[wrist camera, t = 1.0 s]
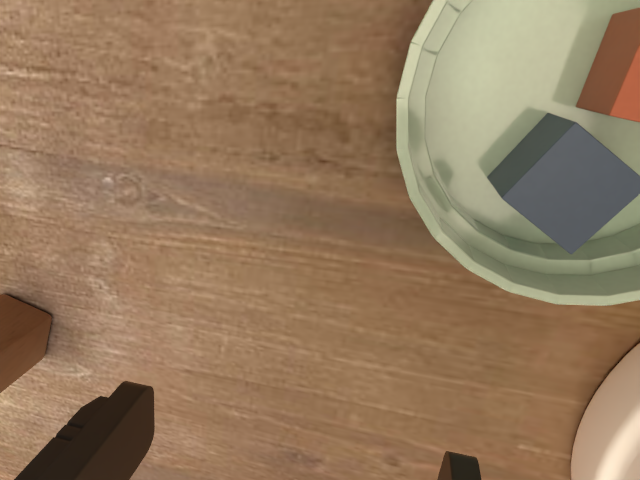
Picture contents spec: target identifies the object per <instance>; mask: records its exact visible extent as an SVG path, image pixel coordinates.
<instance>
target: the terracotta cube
mask: <svg viewBox="0 0 640 480" xmlns="http://www.w3.org/2000/svg"><path fill="white" fill-rule="evenodd" d="M576 107H577V108H581V109H585V110H589V111H593V112H597V113H601V114H605V115H609V116H613V117H617V118H622V119H626V120H631V121H635V122H640V7H639V8H635V9H631V10H627V11H623V12H619V13H615V14H613V15H612V16H611V19H610V21H609V24H608V27H607V29H606V32H605V34H604V37H603V39H602V42H601V44H600V47H599V49H598V52H597V54H596V57H595V59H594V62H593V64H592V67H591V69H590V72H589V74H588V77H587V79H586V82H585V84H584V87H583V89H582V92H581V94H580V97H579V99H578V102H577V104H576Z"/></svg>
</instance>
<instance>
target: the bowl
mask: <svg viewBox="0 0 640 480" xmlns="http://www.w3.org/2000/svg"><path fill="white" fill-rule="evenodd" d="M639 7H640V0H433V1H432V3H431V4H430V6H429V8H428V10H427V12H426V14H425V16H424V18H423V19H422V21H421V23H420V25H419V27H418V29H417V31H416V33H415V34H414V36H413V38H412V40H411V43H410V46H409V50H408V53H407V57H406V61H405V65H404V69H403V73H402V77H401V81H400V85H399V88H398V92H397V98H396V150H397V155H398V159H399V162H400V166H401V170H402V173H403V177H404V181H405V184H406V188H407V192H408V195H409V197H410V200H411V202H412V203H413V205H414V207H415V208H416V210H417V212H418V213H419V215H420V217H421V218H422V220H423V222H424V223H425V225H426V227H427V228H428V230H429V232H430V233H431V235H432V236H433V237H434V239H435V240H436V241H437V242H438V243H439V244H440V245H442V246H443V247H444V248H445V249H446V250H447V251H448V252H449V253H450V254H451V255H452V256H453V257H454V258H455V259H456V260H457V261H458V262H459V263H461V264H462V265H463V266H464V267H465V268H466V269H468V270H469V271H471V272H473V273H474V274H476V275H478V276H480V277H482V278H484V279H486V280H487V281H489V282H491V283H493V284H495V285H497V286H498V287H500V288H502V289H504V290H506V291H509V292H511V293H515V294H519V295H523V296H526V297H530V298H534V299H538V300H542V301H546V302H550V303H553V304H564V305H599V306H608V305H615V304H621V303H626V302H632V301H637V300H640V194H639V195H638V196H637V197H636V198H635V199H634V200H632V201H631V202H630V203H629V204H628V205H627V206H626V207H625V208H623V209H622V210H621V211H620V212H619V213H618V214H617V215H616V216H614V217H613V218H612V219H611V220H610V221H609V222H608V223H607V224H605V225H604V226H603V227H602V228H601V229H600V230H599V231H598V232H596V233H595V234H594V235H593V236H592V237H591V238H590V239H589V240H588V241H586V242H585V243H584V244H583V245H582V246H581V247H580V248H579V249H577V250H576V251H575V252H574V253H573V254H569V253H568V252H567V251H566V250H565V249H563V248H562V247H561V246H560V245H558V244H557V243H556V242H555V241H553V240H552V239H551V238H550V237H549V236H547V235H546V234H545V233H544V232H542V231H541V230H540V229H539V228H537V227H536V226H535V225H534V224H533V223H531V222H530V221H529V220H528V219H526V218H525V217H524V216H523V215H521V214H520V213H519V212H518V211H517V210H515V209H514V208H513V207H512V206H510V205H509V204H508V203H507V202H505V201H504V200H503V199H502V198H501V197H500V195H499V194H498V192H497V191H496V190H495V188H494V187H493V185H492V184H491V183H490V181H489V180H488V178H487V176H488V175H489V174H490V173H491V172H492V171H493V170H494V169H495V168H496V167H497V166H498V165H499V164H500V163H501V162H502V161H503V160H504V158H505V157H506V156H507V155H508V154H509V153H510V152H511V151H512V150H513V149H514V148H515V147H516V146H517V145H518V144H519V143H520V142H521V140H522V139H523V138H524V137H525V136H526V135H527V134H528V133H529V132H530V131H531V130H532V129H533V128H534V127H535V126H536V125H537V124H538V122H539V121H540V120H541V119H542V118H543V117H544V116H545V115H546V114H547V113H551V114H554V115H557V116H559V117H562V118H565V119H568V120H571V121H574V122H577V123H578V124H579V125H580V126H582V127H583V128H584V129H585V130H586V131H588V132H589V133H590V134H591V135H592V136H593V137H595V138H596V139H597V140H598V141H599V142H601V143H602V144H603V145H604V146H605V147H606V148H608V149H609V150H610V151H611V152H612V153H614V154H615V155H616V156H617V157H618V158H619V159H621V160H622V161H623V162H624V163H625V164H627V165H628V166H629V167H630V168H631V169H633V170H634V171H635V172H636V173H637V174H638V175H640V122H635V121H631V120H626V119H622V118H617V117H613V116H609V115H605V114H601V113H597V112H593V111H589V110H585V109H581V108H577V107H576V104H577V102H578V99H579V97H580V94H581V92H582V89H583V87H584V84H585V82H586V79H587V77H588V74H589V72H590V69H591V67H592V64H593V62H594V59H595V57H596V54H597V52H598V49H599V47H600V44H601V42H602V39H603V37H604V34H605V32H606V29H607V27H608V24H609V21H610V19H611V16H612V15H613V14H615V13H619V12H623V11H627V10H631V9H635V8H639Z"/></svg>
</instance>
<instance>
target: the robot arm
mask: <svg viewBox="0 0 640 480" xmlns="http://www.w3.org/2000/svg"><path fill="white" fill-rule="evenodd" d="M153 436H154V391H153V388H152V387H151V386H147V385H142V384H137V383H133V382H128V381H125V382H123V383H121V384H120V385H119V387H118V388H117V389H116V390H115V391H114V392H113V393H112V395H111V396H110V397H109V398H107V397H102V396H100V397H98V398H96V399H95V400H93V401H91V402H90V403H88V404H86V405H85V406H83V407H81V408H80V410H79V411H78V412H77V413H76V414H75V415H74V416H73V417H72V418H71V419H70V420H69V421H68V424H67V425H65V426H64V427H63V428H62V429H61V430H60V431H59V432H58V433H57V435H56V437H55V438H54V437H53V439H52V440H51V441H50V442H49V443H48V444H47V445H46V446H45V447H44V448H43V449H42V450H41V451H40V452H39V454H38V455H37V456H36V457H35V458H34V459H33V460H32V461H31V462H30V463H29V464H28V465H27V466H26V468H25V469H24V470H23V471H22V472H21V473H20V474H19V475H18V476H17V477H16V478H15V479H14V480H129V479H130V478H131V476H132V475H133V473H134V472H135V470H136V469H137V467H138V466H139V464H140V463H141V461H142V460H143V458H144V457H145V455H146V453H147V452H148V450H149V448H150V445H151V443H152V440H153ZM437 480H481V475H480V470H479V464H478V460H477V458H476V457H472V456H467V455H463V454H458V453H453V452H449V451H446V453H445V455H444V458H443V462H442V465H441V469H440V472H439V476H438V479H437Z"/></svg>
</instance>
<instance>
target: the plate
mask: <svg viewBox="0 0 640 480" xmlns="http://www.w3.org/2000/svg"><path fill="white" fill-rule="evenodd" d="M571 480H640V343H639V344H638V345H637V346H635V347H634V348H633V349H632V350H631V351H630V352H629V353H628V354H627V355H626V356H625V357H624V358H623V359H622V360H621V361H620V362H619V363H618V364H617V365H616V367H615V368H614V369H613V370H612V371H611V372H610V373H609V375H608V376H607V377H606V379H605V380H604V381H603V383H602V384H601V386H600V387H599V388H598V390H597V391H596V393H595V394H594V396H593V398H592V400H591V401H590V403H589V405H588V407H587V408H586V410H585V413H584V415H583V418H582V420H581V422H580V425H579V427H578V430H577V434H576V438H575V441H574V445H573V451H572V459H571Z"/></svg>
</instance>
